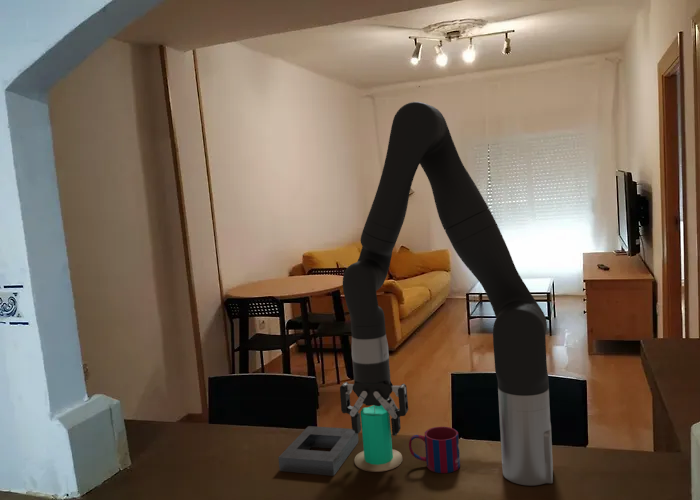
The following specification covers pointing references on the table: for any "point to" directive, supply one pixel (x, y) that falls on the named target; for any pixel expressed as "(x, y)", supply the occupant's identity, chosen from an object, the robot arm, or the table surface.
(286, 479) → the table surface
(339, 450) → the grey rectangular frame
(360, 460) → the cork coaster
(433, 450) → the mug
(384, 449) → the candle
